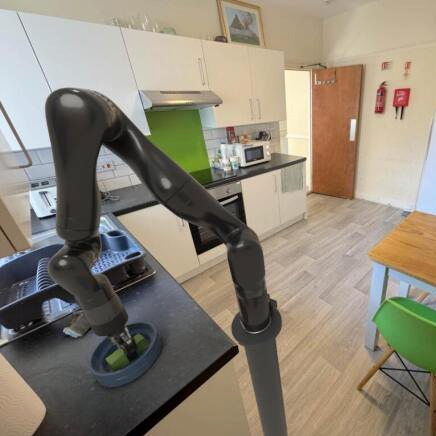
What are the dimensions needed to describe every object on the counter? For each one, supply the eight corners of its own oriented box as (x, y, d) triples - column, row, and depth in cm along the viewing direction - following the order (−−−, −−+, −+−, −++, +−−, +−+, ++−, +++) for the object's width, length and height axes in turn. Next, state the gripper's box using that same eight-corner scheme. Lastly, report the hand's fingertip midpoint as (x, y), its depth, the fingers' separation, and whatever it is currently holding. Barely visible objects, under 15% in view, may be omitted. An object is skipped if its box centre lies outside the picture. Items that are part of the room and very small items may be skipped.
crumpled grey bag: (54, 333, 79) (50, 326, 71) (73, 312, 83) (71, 304, 75) (84, 344, 81) (83, 340, 73) (100, 324, 86) (101, 317, 78)
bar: (142, 341, 73) (138, 333, 71) (148, 346, 71) (144, 337, 69) (111, 367, 66) (105, 358, 64) (116, 373, 64) (110, 364, 63)
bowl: (143, 325, 79) (137, 314, 76) (173, 347, 71) (168, 335, 69) (86, 369, 66) (77, 356, 64) (115, 401, 59) (106, 388, 56)
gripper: (135, 312, 60) (156, 355, 68) (107, 293, 67) (129, 334, 74) (102, 335, 54) (129, 379, 62) (76, 311, 61) (103, 354, 69)
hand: (129, 354), depth 68 cm, fingers open, 4 cm apart
